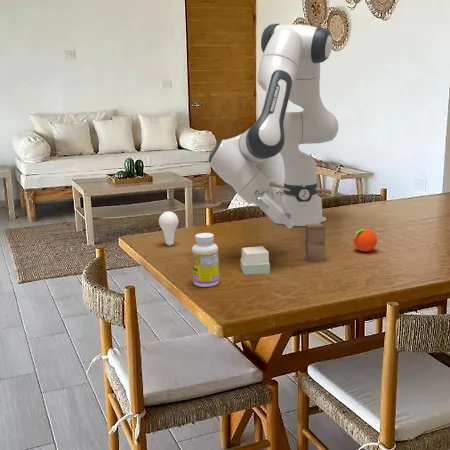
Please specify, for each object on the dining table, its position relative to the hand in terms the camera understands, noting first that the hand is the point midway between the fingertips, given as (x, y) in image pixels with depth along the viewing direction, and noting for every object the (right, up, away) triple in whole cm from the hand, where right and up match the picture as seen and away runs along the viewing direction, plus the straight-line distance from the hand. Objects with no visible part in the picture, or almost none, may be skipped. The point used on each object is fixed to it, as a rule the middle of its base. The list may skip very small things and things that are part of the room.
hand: (290, 222), depth 167 cm
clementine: (+22, -9, +9) cm, 26 cm away
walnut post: (+7, -11, +2) cm, 13 cm away
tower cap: (-10, -10, -6) cm, 16 cm away
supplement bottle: (-23, -16, -15) cm, 32 cm away
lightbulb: (-36, -7, +21) cm, 42 cm away
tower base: (-10, -13, -5) cm, 18 cm away
